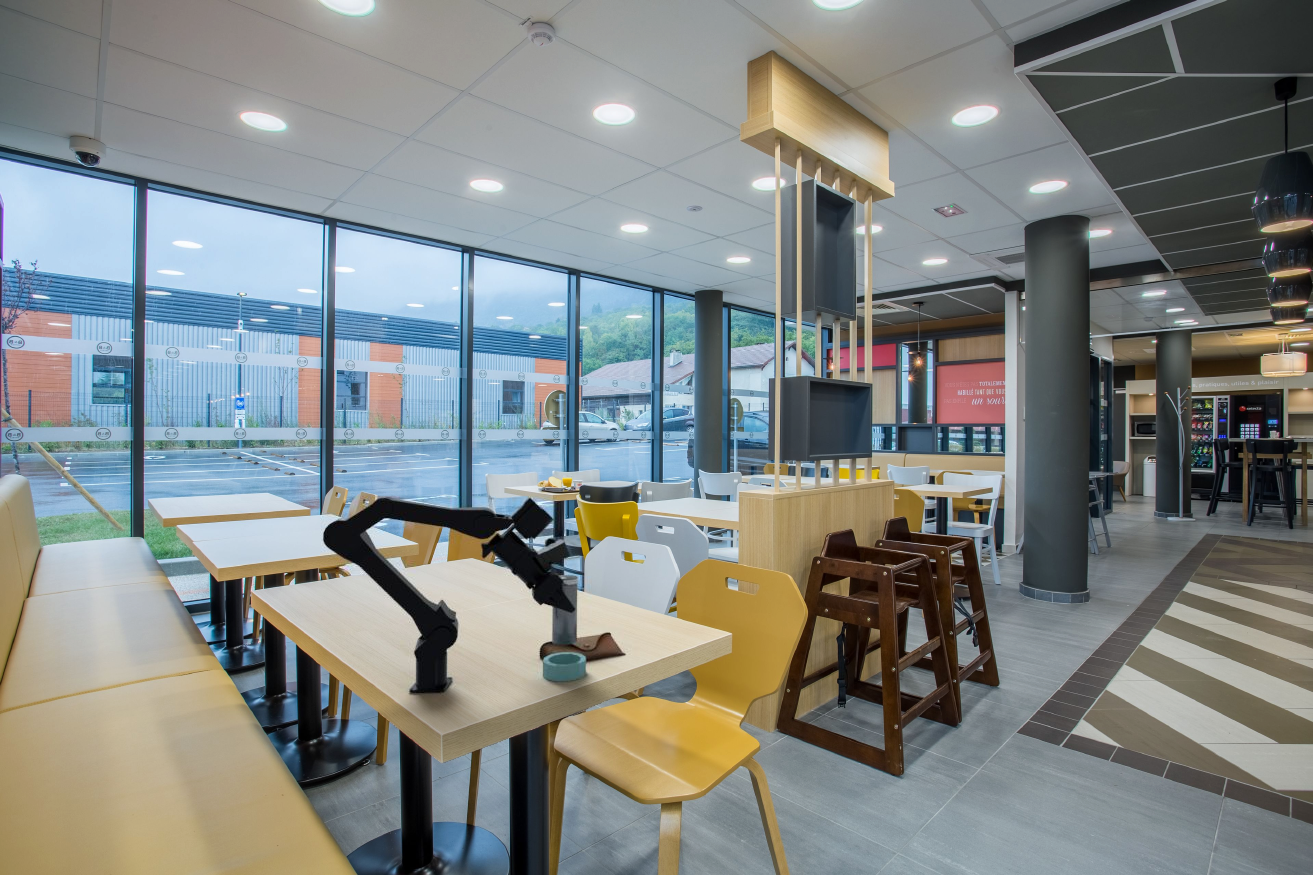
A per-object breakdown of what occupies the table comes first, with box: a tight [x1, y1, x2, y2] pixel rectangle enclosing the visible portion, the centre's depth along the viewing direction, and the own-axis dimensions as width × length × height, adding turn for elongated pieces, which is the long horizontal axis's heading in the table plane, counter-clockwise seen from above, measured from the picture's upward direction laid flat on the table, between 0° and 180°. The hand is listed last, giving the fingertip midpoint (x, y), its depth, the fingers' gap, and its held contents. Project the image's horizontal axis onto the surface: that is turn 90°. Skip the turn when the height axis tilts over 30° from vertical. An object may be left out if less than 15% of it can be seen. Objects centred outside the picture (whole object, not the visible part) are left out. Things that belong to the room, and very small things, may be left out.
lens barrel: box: [551, 574, 579, 645], centre depth 130 cm, size 5×5×13 cm
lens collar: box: [542, 652, 587, 682], centre depth 130 cm, size 9×9×3 cm
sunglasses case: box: [539, 631, 626, 662], centre depth 141 cm, size 18×7×7 cm
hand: (571, 607), depth 130 cm, fingers closed on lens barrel, 5 cm apart
